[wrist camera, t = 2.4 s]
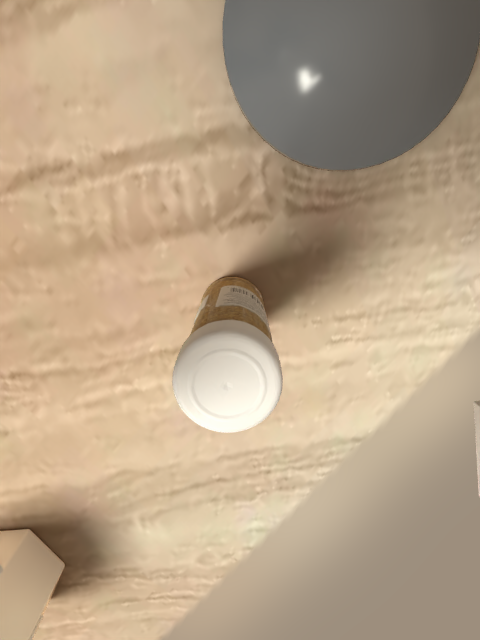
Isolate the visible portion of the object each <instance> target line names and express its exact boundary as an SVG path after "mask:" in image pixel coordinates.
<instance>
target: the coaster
mask: <svg viewBox="0 0 480 640" xmlns="http://www.w3.org/2000/svg"><path fill="white" fill-rule="evenodd" d="M479 40H480V0H226V1H225V7H224V16H223V48H224V56H225V65H226V70H227V74H228V78H229V82H230V85H231V88H232V91H233V94H234V96H235V99H236V101H237V103H238V105H239V107H240V109H241V111H242V113H243V115H244V116H245V118H246V119H247V120H248V122H249V123H250V125H251V126H252V128H253V129H254V130H255V131H256V132H257V133H258V134H259V136H260V137H261V138H262V139H263V140H264V141H265V142H266V143H268V144H269V145H270V146H271V147H272V148H274V149H275V150H276V151H278V152H279V153H281V154H282V155H284V156H285V157H287V158H289V159H291V160H293V161H295V162H298V163H300V164H302V165H305V166H309V167H312V168H316V169H321V170H328V171H350V170H358V169H363V168H367V167H371V166H374V165H378V164H381V163H384V162H386V161H388V160H391V159H393V158H395V157H397V156H399V155H401V154H403V153H404V152H406V151H408V150H410V149H411V148H413V147H414V146H415V145H417V144H418V143H419V142H421V141H422V140H423V139H425V138H426V137H427V136H428V135H429V134H430V133H431V132H432V131H433V130H434V129H435V128H436V127H437V126H438V125H439V124H440V122H441V121H442V120H443V119H444V118H445V116H446V115H447V114H448V113H449V111H450V110H451V108H452V107H453V105H454V104H455V102H456V101H457V99H458V98H459V96H460V94H461V92H462V90H463V88H464V86H465V84H466V82H467V80H468V78H469V75H470V72H471V70H472V67H473V64H474V61H475V57H476V53H477V49H478V45H479Z"/></svg>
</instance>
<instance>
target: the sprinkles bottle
mask: <svg viewBox="0 0 480 640" xmlns="http://www.w3.org/2000/svg"><path fill="white" fill-rule="evenodd" d="M282 380H283V378H282V371H281V365H280V360H279V357H278V354H277V351H276V349H275V347H274V345H273V343H272V337H271V333H270V328H269V324H268V320H267V316H266V312H265V309H264V300H263V297H262V295H261V293H260V291H259V290H258V289H257V288H256V286H255V285H253V284H252V283H251V282H250V281H248V280H246V279H243V278H239V277H225V278H222V279H219V280H217V281H215V282H214V283H213V284H211V285H210V286H209V287H208V288H207V290H206V292H205V293H204V295H203V297H202V300H201V305H200V307H199V310H198V312H197V315H196V318H195V321H194V327H193V329H192V332H191V335H190V336H189V337H188V338H187V340H186V341H185V342H184V344H183V345H182V348H181V350H180V352H179V354H178V357H177V360H176V363H175V366H174V371H173V381H172V383H173V390H174V395H175V397H176V400H177V402H178V404H179V406H180V408H181V409H182V410H183V412H184V413H185V414H186V415H187V416H188V417H189V418H190V419H191V420H193V421H194V422H195V423H197V424H198V425H200V426H202V427H204V428H207V429H209V430H213V431H217V432H226V433H229V432H239V431H243V430H247V429H249V428H252V427H254V426H256V425H257V424H259V423H261V422H262V421H263V420H264V419H266V418H267V417H268V416H269V415H270V414H271V412H272V411H273V410H274V408H275V407H276V405H277V403H278V401H279V398H280V395H281V391H282Z"/></svg>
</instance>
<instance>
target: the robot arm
mask: <svg viewBox="0 0 480 640" xmlns="http://www.w3.org/2000/svg"><path fill="white" fill-rule="evenodd" d="M474 415H475V433H476V451H477V471H478V489H479V497H480V401H475V402H474ZM2 572H3V569H2V566H1V564H0V575H1V573H2Z"/></svg>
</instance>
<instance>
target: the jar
mask: <svg viewBox="0 0 480 640" xmlns="http://www.w3.org/2000/svg"><path fill="white" fill-rule="evenodd" d="M0 564H1V566H2V569H3V572H2V573H1V575H0V640H33V638H34V636H35V634H36V632H37V630H38V627H39V624H40V622H41V621H42V619H43V617H44V616H43V615H44V612H45V610H46V608H47V606H48V604H49V602H50V600H51V598H52V595H53V593H54V590H55V588H56V586H57V583H58V581H59V579H60V576H61V574H62V572H63V569H64V567H65V564H64V562H63V561H62V560H61V559H60V558H59V557H58V556H56V555H55V554H54V553H53V552H52V551H51V550H50V549H49V548H48V547H47V546H46V545H45V544H44V543H43V542H42V541H41V540H40V539H39V538H38V537H37V536H36V535H35V534H34V533H33V532H32V531H31V530H30V529H20V530H7V531H0Z"/></svg>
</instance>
